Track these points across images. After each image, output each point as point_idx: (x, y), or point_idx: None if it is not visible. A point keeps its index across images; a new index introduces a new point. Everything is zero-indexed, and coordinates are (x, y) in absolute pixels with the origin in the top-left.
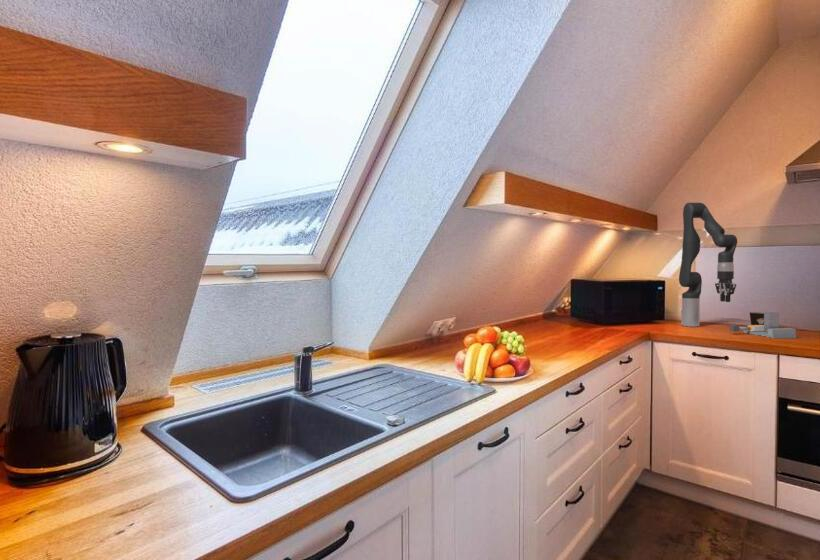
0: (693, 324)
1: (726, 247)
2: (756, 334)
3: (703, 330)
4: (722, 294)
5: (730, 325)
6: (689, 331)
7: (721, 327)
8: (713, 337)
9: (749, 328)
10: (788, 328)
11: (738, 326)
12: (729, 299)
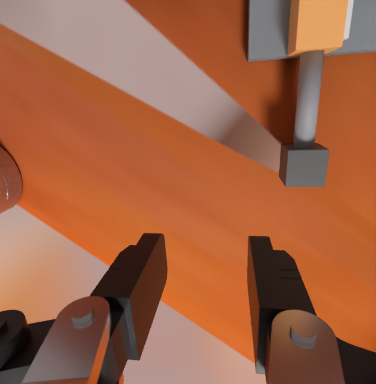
0: (13, 188)
1: None
2: (364, 52)
3: (146, 215)
4: (128, 347)
5: (292, 185)
6: (178, 288)
7: (16, 39)
8: (368, 311)
9: (322, 62)
10: None
11: (327, 153)
12: (287, 274)
